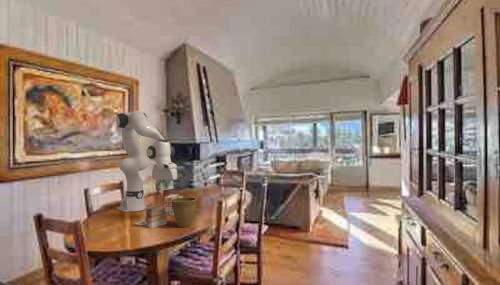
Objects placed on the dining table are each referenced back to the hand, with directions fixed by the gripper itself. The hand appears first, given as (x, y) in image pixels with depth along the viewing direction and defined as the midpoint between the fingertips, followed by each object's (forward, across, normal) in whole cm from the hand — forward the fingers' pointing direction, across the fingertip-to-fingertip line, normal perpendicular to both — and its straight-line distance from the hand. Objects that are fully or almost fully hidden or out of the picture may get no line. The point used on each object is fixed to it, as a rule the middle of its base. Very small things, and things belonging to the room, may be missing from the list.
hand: (164, 186), depth 203 cm
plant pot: (+22, +19, -2) cm, 29 cm away
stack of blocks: (+22, -14, +20) cm, 33 cm away
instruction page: (+22, -7, -11) cm, 25 cm away
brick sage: (+2, 0, 0) cm, 2 cm away
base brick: (+22, +4, -10) cm, 24 cm away
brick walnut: (+16, +4, -10) cm, 19 cm away
